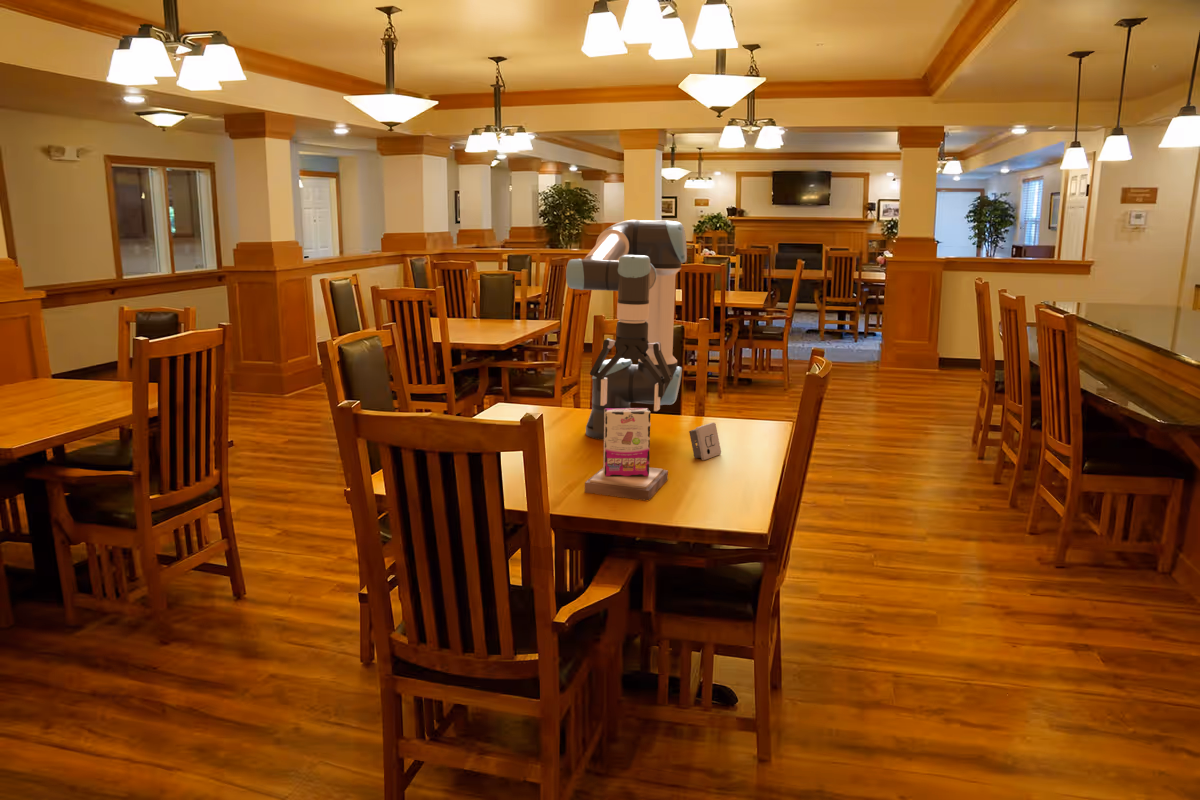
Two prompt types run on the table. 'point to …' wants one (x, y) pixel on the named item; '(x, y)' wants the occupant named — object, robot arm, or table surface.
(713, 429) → the electrical switch
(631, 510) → the table surface
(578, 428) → the table surface
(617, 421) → the candy bar box
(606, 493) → the pale flat square slab
